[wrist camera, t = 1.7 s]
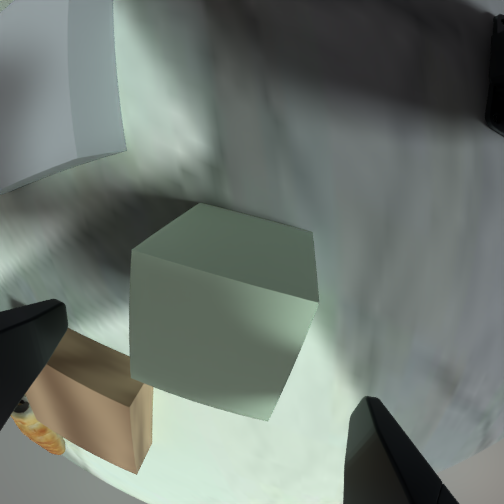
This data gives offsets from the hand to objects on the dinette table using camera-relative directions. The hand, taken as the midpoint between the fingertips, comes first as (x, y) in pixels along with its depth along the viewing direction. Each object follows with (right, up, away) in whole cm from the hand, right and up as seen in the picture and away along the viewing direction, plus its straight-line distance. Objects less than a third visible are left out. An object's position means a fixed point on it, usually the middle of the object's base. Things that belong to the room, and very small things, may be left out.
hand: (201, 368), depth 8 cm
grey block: (-10, +12, +5) cm, 16 cm away
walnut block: (-11, -7, +12) cm, 17 cm away
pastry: (-23, -16, +18) cm, 33 cm away
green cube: (+1, +2, +6) cm, 7 cm away
